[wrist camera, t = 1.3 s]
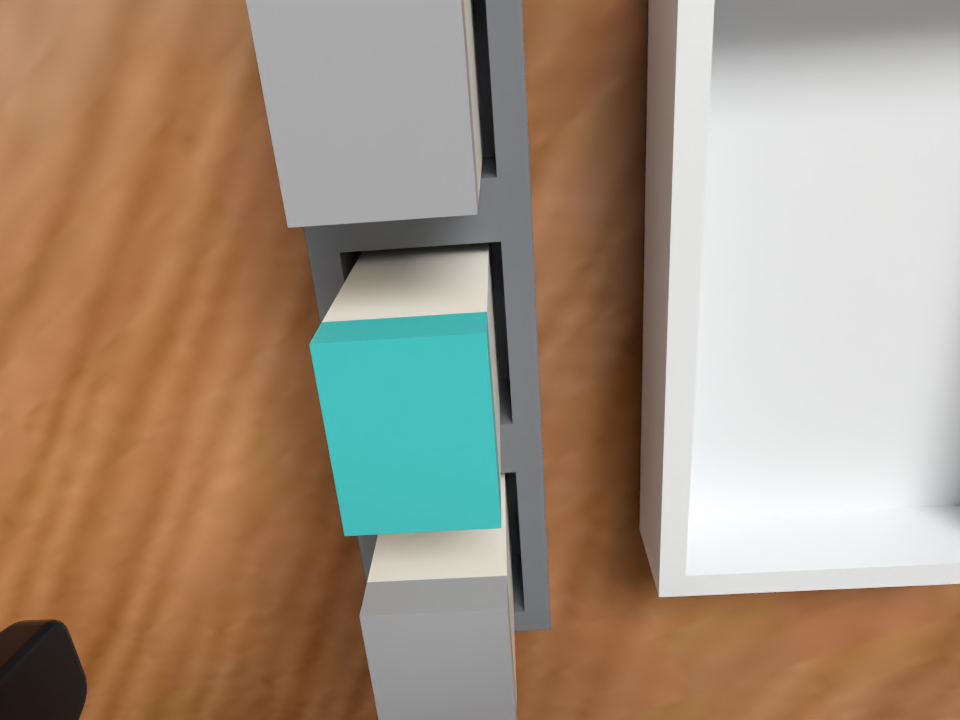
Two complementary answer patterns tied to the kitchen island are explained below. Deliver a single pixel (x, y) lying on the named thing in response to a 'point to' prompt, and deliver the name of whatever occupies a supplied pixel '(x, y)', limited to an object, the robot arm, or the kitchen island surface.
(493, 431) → the block
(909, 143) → the tray
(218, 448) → the kitchen island surface
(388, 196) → the block
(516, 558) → the fuse holder
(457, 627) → the fuse
